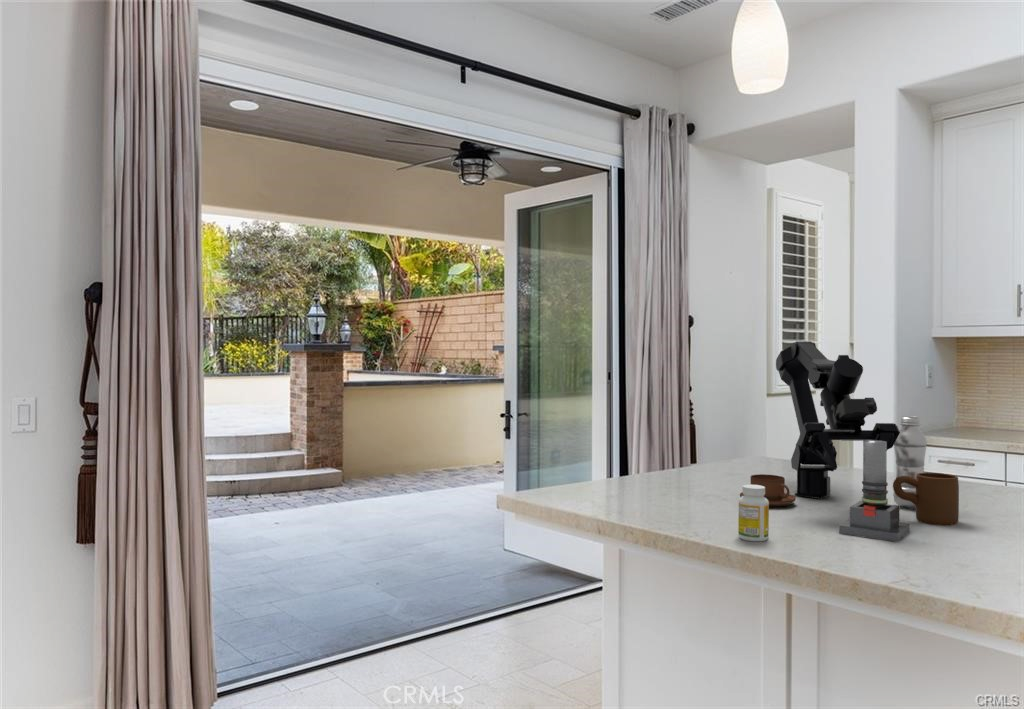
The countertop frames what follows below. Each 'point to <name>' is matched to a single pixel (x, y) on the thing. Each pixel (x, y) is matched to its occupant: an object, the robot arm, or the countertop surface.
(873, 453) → the grey ridged cylinder
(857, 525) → the stand sleeve
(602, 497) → the countertop surface
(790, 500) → the cup and saucer
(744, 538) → the supplement bottle
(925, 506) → the mug
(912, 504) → the plastic bottle
